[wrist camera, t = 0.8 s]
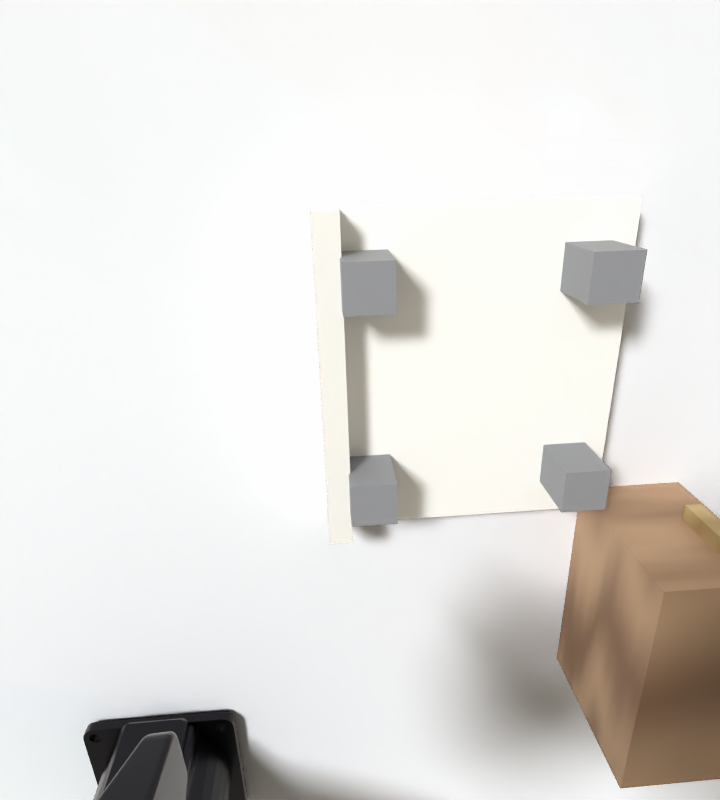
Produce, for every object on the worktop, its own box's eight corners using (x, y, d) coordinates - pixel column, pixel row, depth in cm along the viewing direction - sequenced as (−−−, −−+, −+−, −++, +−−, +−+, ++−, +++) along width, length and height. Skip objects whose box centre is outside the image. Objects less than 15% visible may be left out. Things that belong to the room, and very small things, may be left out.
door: (640, 649, 27) (726, 778, 21) (555, 656, 26) (620, 788, 21) (679, 467, 23) (796, 566, 17) (581, 474, 23) (667, 576, 17)
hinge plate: (581, 489, 23) (621, 538, 20) (328, 506, 22) (330, 559, 19) (623, 193, 18) (682, 200, 15) (310, 205, 18) (310, 214, 15)
